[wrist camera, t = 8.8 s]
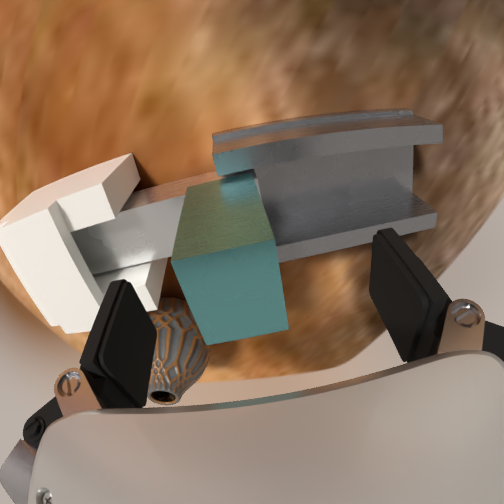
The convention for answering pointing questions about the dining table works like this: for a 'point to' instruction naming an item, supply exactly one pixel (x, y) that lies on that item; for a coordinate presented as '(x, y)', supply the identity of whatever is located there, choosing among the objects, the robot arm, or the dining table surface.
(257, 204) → the teal-tipped grey beam
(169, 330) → the vase
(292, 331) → the dining table surface
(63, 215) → the socket block
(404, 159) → the guide channel
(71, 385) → the robot arm
